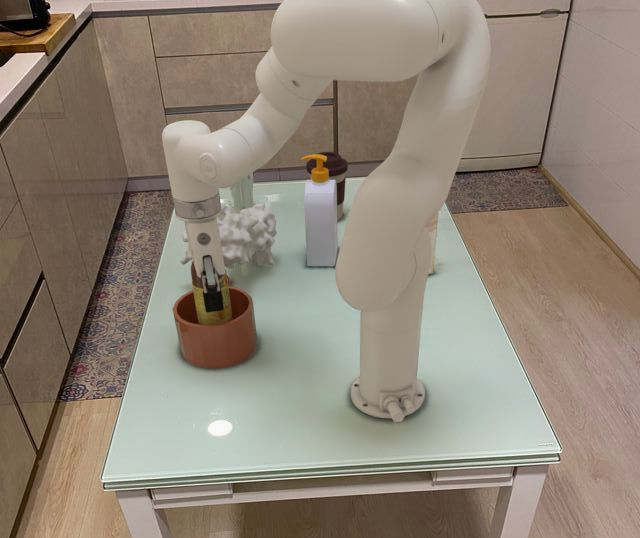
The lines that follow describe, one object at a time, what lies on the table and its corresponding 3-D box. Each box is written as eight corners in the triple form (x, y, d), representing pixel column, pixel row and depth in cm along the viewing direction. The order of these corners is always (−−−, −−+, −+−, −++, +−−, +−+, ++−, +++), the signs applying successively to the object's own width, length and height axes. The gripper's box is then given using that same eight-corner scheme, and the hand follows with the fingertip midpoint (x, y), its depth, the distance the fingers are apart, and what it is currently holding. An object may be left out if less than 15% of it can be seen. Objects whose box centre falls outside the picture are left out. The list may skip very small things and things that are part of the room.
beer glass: (262, 208, 174) (257, 149, 165) (246, 218, 170) (240, 158, 160) (241, 203, 177) (234, 145, 168) (225, 213, 173) (217, 154, 163)
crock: (263, 361, 123) (258, 319, 117) (184, 374, 121) (176, 332, 115) (250, 320, 134) (246, 280, 128) (178, 332, 132) (170, 291, 126)
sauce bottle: (228, 342, 122) (213, 241, 109) (195, 339, 123) (176, 238, 110) (238, 322, 127) (225, 223, 114) (207, 320, 128) (190, 221, 115)
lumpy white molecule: (199, 296, 156) (169, 286, 132) (194, 214, 154) (162, 189, 129) (284, 291, 155) (269, 281, 130) (280, 209, 153) (264, 183, 128)
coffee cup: (303, 211, 172) (301, 152, 162) (340, 206, 174) (339, 146, 164) (315, 227, 165) (312, 166, 155) (353, 221, 167) (353, 160, 157)
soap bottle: (307, 248, 157) (303, 148, 142) (337, 248, 156) (336, 148, 141) (303, 267, 150) (298, 163, 135) (334, 267, 149) (332, 163, 134)
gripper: (227, 223, 103) (240, 322, 115) (213, 181, 116) (226, 275, 128) (178, 229, 102) (196, 329, 114) (170, 187, 115) (187, 280, 127)
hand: (212, 299), depth 121 cm, fingers closed on sauce bottle, 6 cm apart
